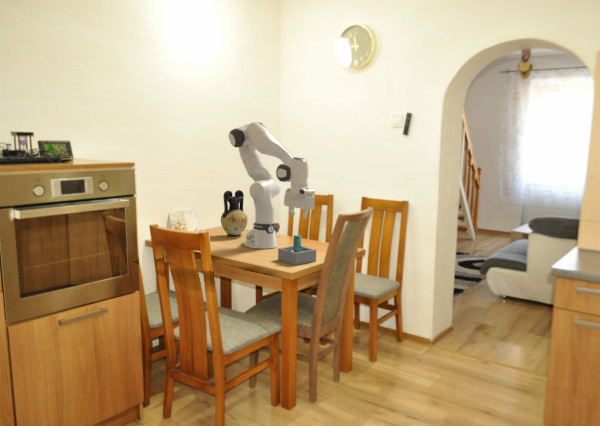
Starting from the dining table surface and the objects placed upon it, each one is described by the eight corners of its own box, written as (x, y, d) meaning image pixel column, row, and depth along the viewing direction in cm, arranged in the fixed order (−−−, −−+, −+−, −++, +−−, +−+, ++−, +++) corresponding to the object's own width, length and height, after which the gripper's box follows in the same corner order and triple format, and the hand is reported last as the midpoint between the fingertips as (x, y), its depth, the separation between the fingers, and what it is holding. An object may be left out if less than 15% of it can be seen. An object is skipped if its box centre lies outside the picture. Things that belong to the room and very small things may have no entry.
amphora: (233, 233, 313) (233, 188, 309) (252, 236, 304) (253, 190, 300) (214, 236, 299) (215, 190, 295) (234, 240, 289) (235, 192, 285)
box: (277, 259, 243) (278, 248, 242) (298, 256, 252) (298, 245, 251) (295, 265, 232) (295, 253, 232) (315, 261, 242) (316, 249, 241)
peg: (291, 258, 242) (292, 235, 241) (297, 257, 245) (297, 234, 243) (296, 259, 239) (297, 236, 238) (302, 258, 242) (302, 235, 240)
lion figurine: (276, 235, 309) (277, 222, 308) (281, 236, 305) (281, 223, 304) (258, 237, 300) (258, 223, 299) (262, 239, 296) (263, 225, 295)
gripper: (281, 188, 243) (280, 214, 245) (307, 191, 228) (306, 219, 230) (290, 187, 247) (289, 213, 249) (317, 191, 232) (316, 218, 234)
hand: (298, 216), depth 239 cm, fingers open, 8 cm apart
